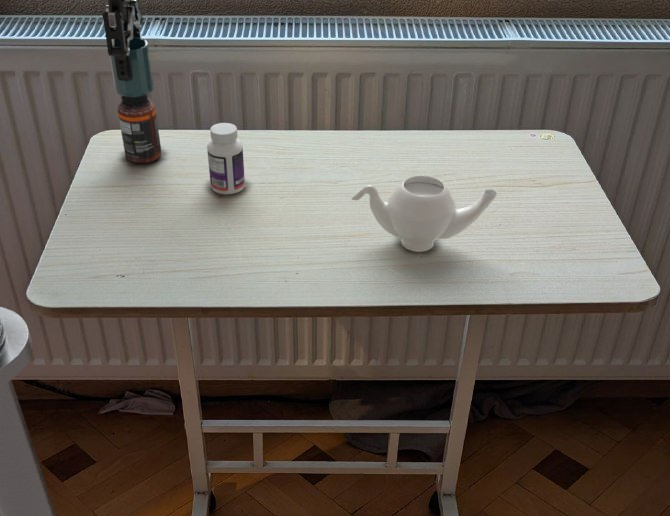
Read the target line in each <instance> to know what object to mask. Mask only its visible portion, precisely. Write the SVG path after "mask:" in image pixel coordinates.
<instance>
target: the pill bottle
mask: <svg viewBox="0 0 670 516" xmlns="http://www.w3.org/2000/svg"><path fill="white" fill-rule="evenodd" d="M209 131H210V133H209V134H210V140H209V141H208V143H207V145H206V150H207V160H208V173H209V181H210V188H211V189H212V191H214V192H215V193H217V194H220V195H233V194H237V193H240V192H241V191H243V190H244V189H245V185H246V179H245V178H246V177H245V164H244V163H245V162H244V161H245V160H244V147H243V142H242V141H241V140H240V139H239V138H238V128H237V126H236V125H235V124H233V123H229V122H219V123H215V124H213V125H212V126H211V127H210V129H209Z"/></svg>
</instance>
